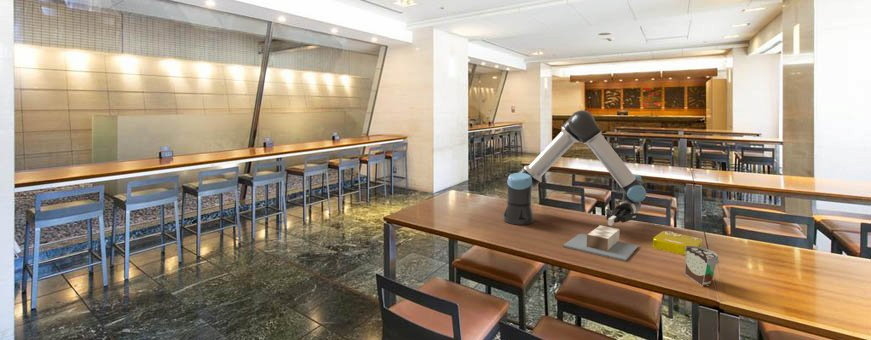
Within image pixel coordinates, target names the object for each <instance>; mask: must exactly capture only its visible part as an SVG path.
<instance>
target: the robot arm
mask: <svg viewBox="0 0 871 340" xmlns="http://www.w3.org/2000/svg"><path fill="white" fill-rule="evenodd" d="M602 132H603V131H602V129H601V128H600V127H599V126H598V124H597V122H596V120H595V117H594V115H593V114H592V113H591V112H589V111H587V110H581V109H580V110H577V111H575V112H573V114H571V116H570V117H569V118H568V119H567V120H566V121H565V122H564V123H563V124H562V125H561V131H560V132H559V133H558V134H557V135H556V136H555V137H554V138H553V139H552V140H551V142H550V143H548V144H547V146H546V147H545V148H544V149H543V150H542V151H541V152H540V153H539V154H538V155H537V156H536V157H535V159H534V160H533V161H532V162H531V163H529V165H524V166H523V167H522V168H521V169H520V170H519V171H518V172H515V173H511V174H509V175H508V177H507V194H506V195H507V200H506V202H507V203H506V204H507V205H506V208H505V209H504V213H503V219H502V220H503V221H504V222H505V223H507V224H512V225H518V226H519V225H520V226H523V225H524V226H525V225H531V224H533V223H534V222H535V216H534V212H533V210H532V192H533V190H534V189H535V188H536V187H537V186H538V185H539V184H540V183H541V182H542V177H543V175H545V173H546V172H548V171H549V169H550V168H552V166H553V165H554V164H555V163H556V162H557V161H558V160H559V159H560V158H561V157H562V156H563V155H564V154H565V153H566V152H567V151H568V150H569V149H570V148H571V147H572V146H573V145H574V144H575V143H579V142H580V143H581V142H582V143H583V144H584V145H587V146H588V148H589V149H590V150H591V152H592V153H593V154H594V155H595V156H596V157H597V158H596V159H598V160H599V161H600V163H601V164H602V165H603V167H604V168H605V169H606V170H607V172H608V173H609V174H610V175H611V176H612V178H613V179H614V180H615V182H616V184H618V185H619V187H620V188H621V190H622V192H623V194H622V202H620V203H619V204H617V205H616V207H614V209H612V210H611V209H609V208H606V210H605V215H606V217H605V220H606V221H607V225H608V226H609V227H612V226H613V225H614V224H617V223H624V224H625V223H627V222H629V221H632V220H633V221H634V220H636V218H637V213H638V212H639V211H640V210H641V208H642V203H641V202H642V201H644V200H645V198H646V197H647V191H646V189H645V187H644V186H643V185H642V183H643V181H642V176H641V175H639V174H633V172H632V171H631V170H630V169H629V167H628V166H627V165H626V164H625V162H624V161H623V160H622V159H621V157H620V156H619V155H618V153H617V152H616V151H615V150H614V149H613V147H612V146H611V145H610V143H609V142H608V141H607V140H606V138H605V137H604V136H603V135H602Z"/></svg>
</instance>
